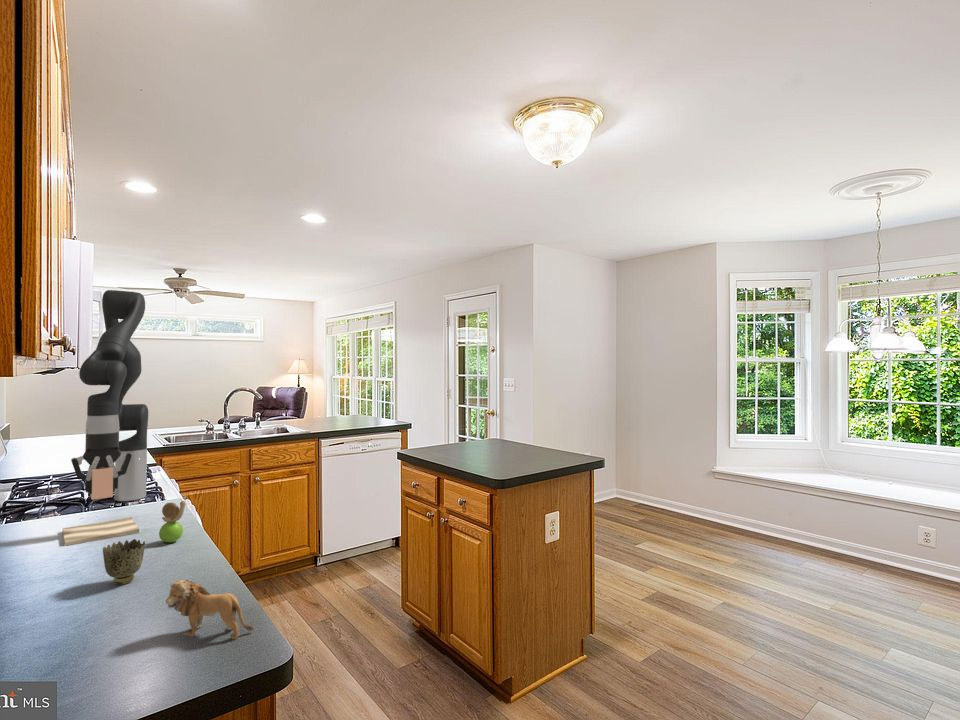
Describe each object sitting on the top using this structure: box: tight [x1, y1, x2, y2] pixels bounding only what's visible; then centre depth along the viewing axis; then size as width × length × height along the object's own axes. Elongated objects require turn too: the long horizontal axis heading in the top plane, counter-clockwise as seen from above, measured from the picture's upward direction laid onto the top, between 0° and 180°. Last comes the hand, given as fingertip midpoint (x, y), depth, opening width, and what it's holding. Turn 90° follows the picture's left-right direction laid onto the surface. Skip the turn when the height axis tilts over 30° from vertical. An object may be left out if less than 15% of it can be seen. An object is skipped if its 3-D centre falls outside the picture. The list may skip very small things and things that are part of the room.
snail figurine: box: [158, 496, 187, 544], centre depth 132 cm, size 5×6×12 cm
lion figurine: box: [165, 579, 255, 640], centre depth 87 cm, size 15×5×9 cm, turn 91°
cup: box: [102, 538, 146, 586], centre depth 107 cm, size 8×7×8 cm
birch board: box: [62, 517, 140, 547], centre depth 140 cm, size 15×16×1 cm
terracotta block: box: [90, 467, 114, 501], centre depth 140 cm, size 5×5×8 cm
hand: (101, 491), depth 140 cm, fingers closed on terracotta block, 4 cm apart
